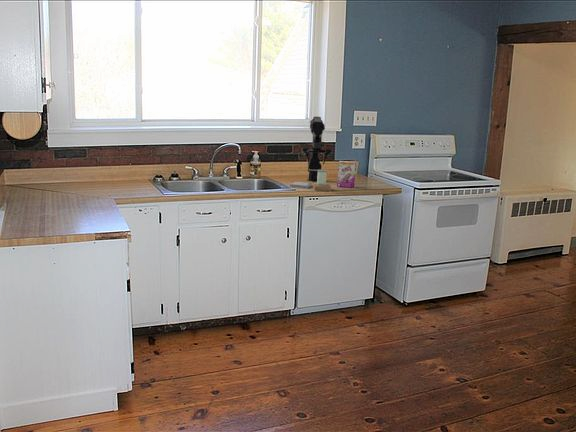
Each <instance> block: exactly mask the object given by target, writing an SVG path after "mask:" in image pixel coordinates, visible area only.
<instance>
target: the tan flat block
mask: <svg viewBox="0 0 576 432" xmlns="http://www.w3.org/2000/svg"><path fill="white" fill-rule="evenodd" d="M331 187H332V186H331V185H330V184H329V183H326V185H318V184H317V183H314V184H313V186H312V189H313V190H314V191H321V192H331V189H332V188H331Z"/></svg>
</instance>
